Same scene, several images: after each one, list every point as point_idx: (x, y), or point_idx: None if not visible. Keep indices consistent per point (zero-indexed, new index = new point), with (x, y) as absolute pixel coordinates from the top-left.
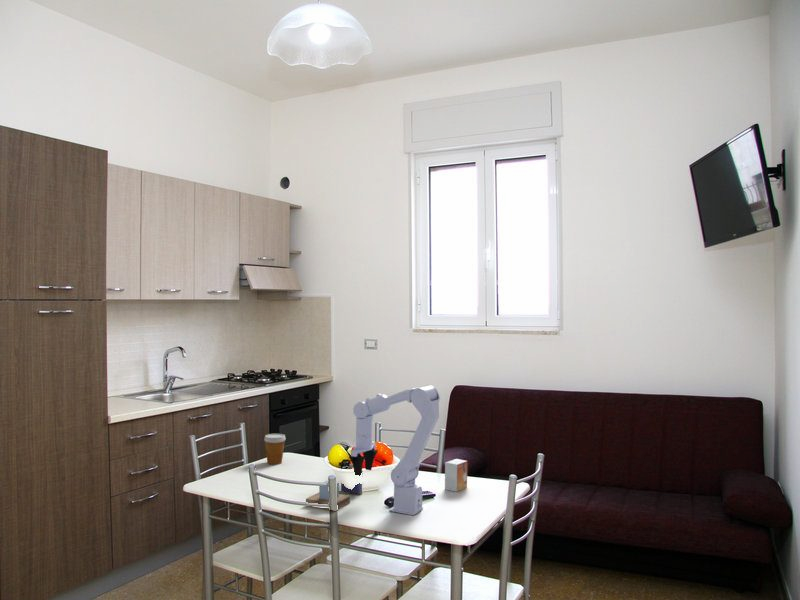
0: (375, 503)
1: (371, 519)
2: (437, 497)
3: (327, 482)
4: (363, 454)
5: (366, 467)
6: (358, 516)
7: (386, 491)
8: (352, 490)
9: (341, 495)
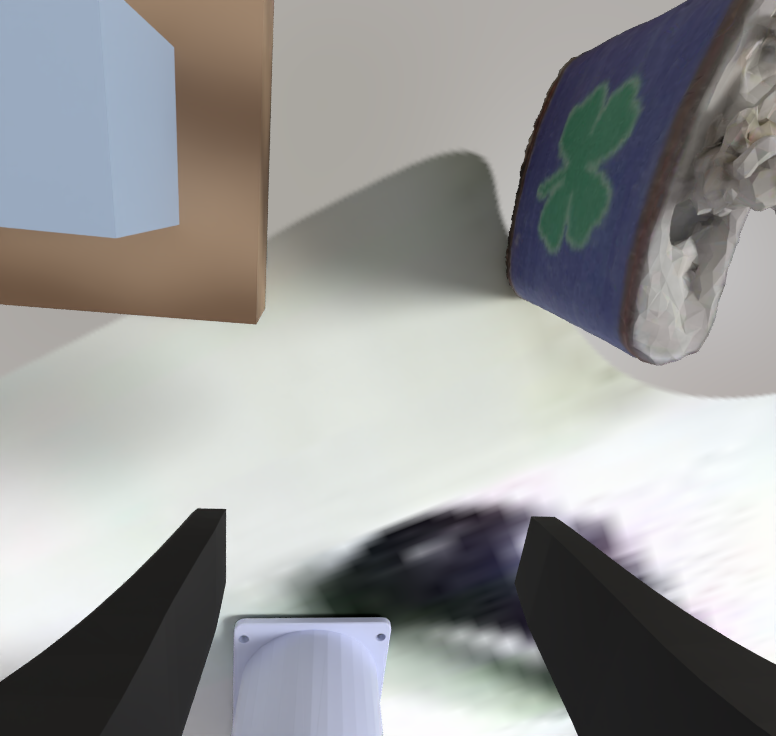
0: (351, 483)
1: (23, 591)
2: None
3: (1, 39)
4: (728, 710)
5: (542, 552)
6: (17, 498)
7: (645, 441)
8: (523, 218)
9: (231, 233)
